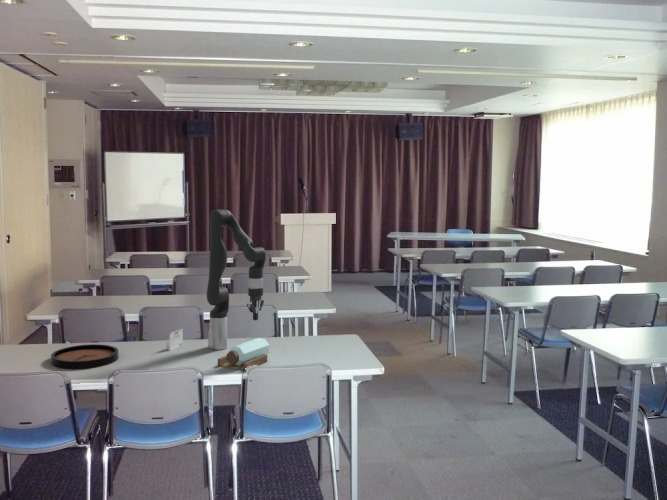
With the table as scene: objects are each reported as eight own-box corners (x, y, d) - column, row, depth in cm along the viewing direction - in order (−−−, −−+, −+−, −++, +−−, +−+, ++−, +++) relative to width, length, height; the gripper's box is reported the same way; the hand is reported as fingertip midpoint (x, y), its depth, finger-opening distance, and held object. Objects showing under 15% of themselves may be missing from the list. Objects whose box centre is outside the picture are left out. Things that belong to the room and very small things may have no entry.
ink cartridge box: (166, 350, 333) (166, 332, 332) (179, 345, 343) (179, 328, 342) (169, 350, 332) (169, 332, 331) (183, 346, 342) (183, 328, 341)
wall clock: (98, 341, 334) (130, 352, 314) (98, 348, 335) (130, 360, 315) (39, 352, 311) (70, 365, 290) (39, 360, 311) (70, 374, 291)
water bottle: (267, 359, 323) (235, 372, 302) (253, 349, 327) (221, 361, 306) (273, 343, 320) (242, 354, 298) (259, 333, 324) (227, 343, 303)
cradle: (217, 365, 307) (217, 358, 307) (238, 356, 323) (238, 350, 323) (247, 371, 300) (247, 364, 299) (267, 361, 316) (267, 354, 315)
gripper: (256, 284, 325) (256, 316, 327) (242, 287, 313) (242, 321, 315) (268, 285, 322) (268, 318, 324) (254, 289, 310) (254, 323, 312)
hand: (255, 320), depth 319 cm, fingers closed
